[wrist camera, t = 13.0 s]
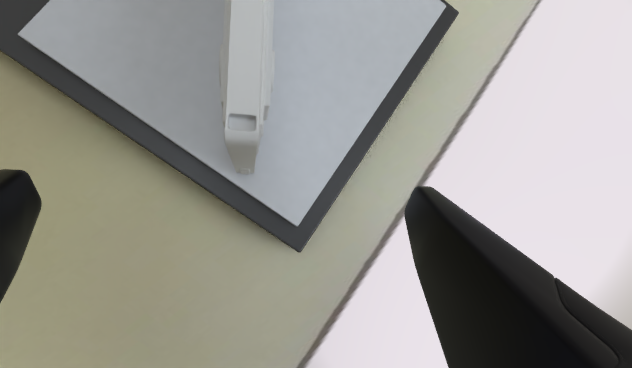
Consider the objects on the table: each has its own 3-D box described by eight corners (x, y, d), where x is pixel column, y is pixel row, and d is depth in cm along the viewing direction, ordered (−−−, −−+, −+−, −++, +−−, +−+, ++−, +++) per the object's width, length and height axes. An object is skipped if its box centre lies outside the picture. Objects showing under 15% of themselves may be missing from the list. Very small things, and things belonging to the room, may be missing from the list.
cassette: (264, 176, 16) (277, 147, 9) (225, 174, 16) (202, 142, 8) (273, -57, 17) (292, -265, 10) (236, -64, 17) (224, -285, 9)
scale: (439, 31, 22) (468, 4, 19) (294, 248, 19) (302, 255, 16) (195, -170, 20) (186, -236, 17) (-11, 41, 17) (-66, 6, 14)
